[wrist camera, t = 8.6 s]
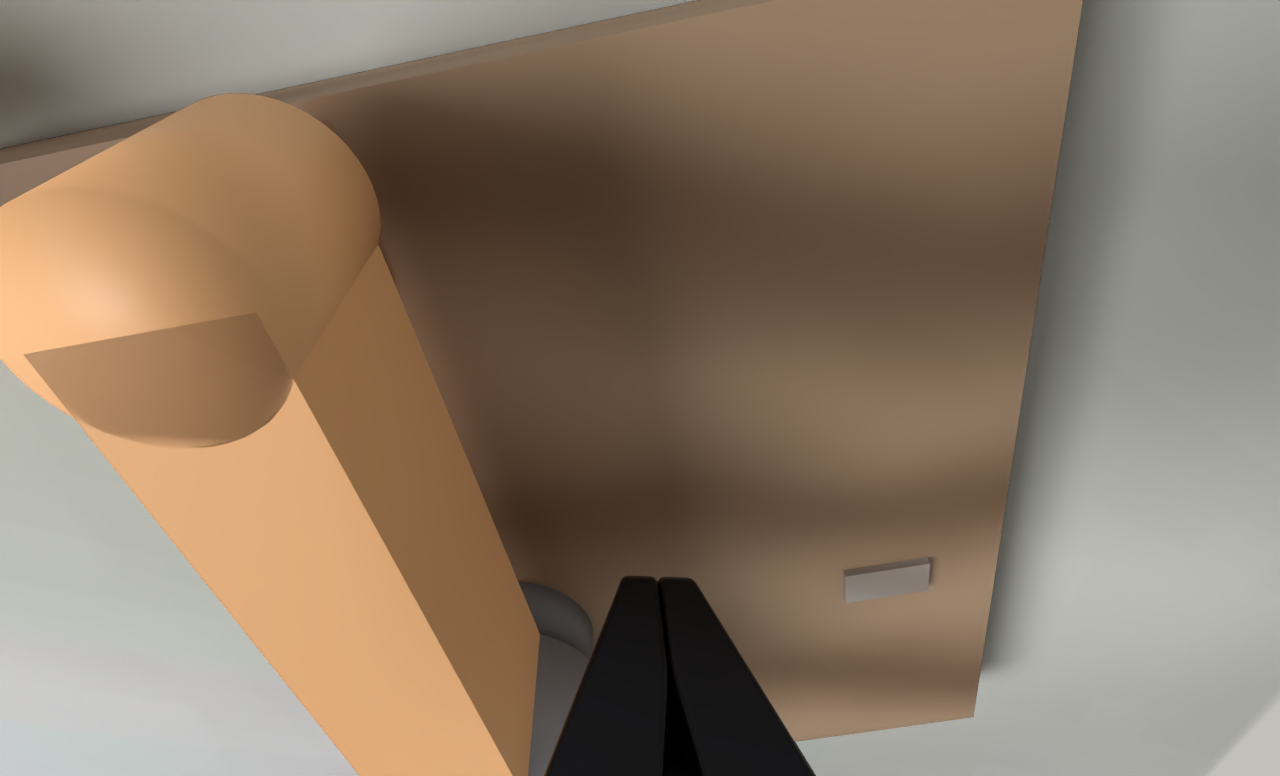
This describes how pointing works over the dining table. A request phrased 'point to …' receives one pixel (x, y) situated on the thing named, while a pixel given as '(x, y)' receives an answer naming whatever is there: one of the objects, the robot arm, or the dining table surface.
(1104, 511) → the dining table surface
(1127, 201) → the dining table surface
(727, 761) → the robot arm
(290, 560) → the latch lever
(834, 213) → the mount plate
